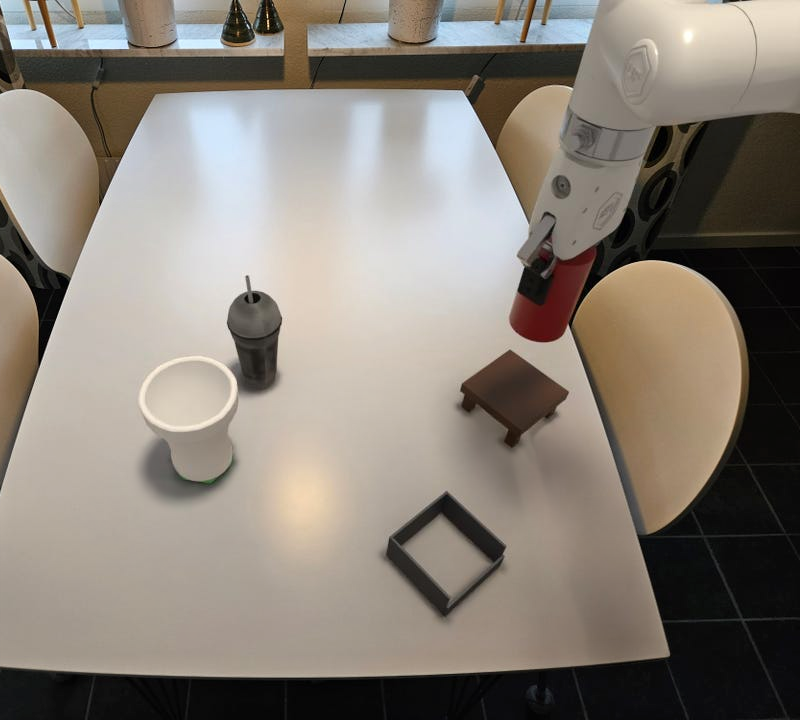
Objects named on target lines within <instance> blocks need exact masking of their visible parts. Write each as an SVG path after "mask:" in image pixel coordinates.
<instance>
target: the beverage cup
mask: <svg viewBox="0 0 800 720" xmlns="http://www.w3.org/2000/svg"><path fill="white" fill-rule="evenodd" d="M244 278H245V283H246V290H247V291H245V292H242V293H240V294H239V295H238V296H236V297H235V298H234V299H233V301H232V303H231V304H230V305H229V308H228V313H227V319H226V325H227V330H229V332H230V335H231V338H232V340H233V342H234V346H235V348H236V349H235V350H236V354H237V358H238V361H239V366H240V369H241V373H242V376H243V379H244V382H245V384H246V385H247V386H248V387H249V388H251V389H254V390H265V389H268V388H270V387H271V386H272V385H274V383H275V381H276V375H277V368H278V350H279V349H278V348H279V335H280V332H281V328H282V327H281V326H282V324H283V317H282V313H281V310H280V308H279V306H278V303H277V302H276V300H275V299H273V298H272V297H271V295H269V294H267V293H266V292H264V291H260V290H252V286H251V285H252V284H251V278H250V275H248V274H246V275H245V276H244Z"/></svg>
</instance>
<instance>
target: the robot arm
mask: <svg viewBox="0 0 800 720" xmlns="http://www.w3.org/2000/svg"><path fill="white" fill-rule="evenodd" d="M564 113H565V114H564V116H563V120H562V123H561V128H560V130H559V134H558V138H557V141H558V144H559V147H558V148H557V150H556V153H555V154H554V157H553V159H552V161H551V163H550V166H549V168H548V170H547V173H546V175H545V178H544V180H543V183H542V186H541V188H540V191H539V194H538V197H537V199H536V203H535V205H534V208H533V211H532V214H531V218H530V221H529V226H528V231H527V237H528V238H527V240H525V242H524V243H523V244H522V246H521V247H520V249H519V250H518V252H517V253H516V257H517V259H518V260H520V263H521V264H522V266H523V270H522V273H521V277H520V280H519V282H518V286H517V290H518V292H519V293H520V294H521V295H523V296H524V297H526V298H527V299H529V300H530V301H532V302H533V303H535V304H536V305H538V306H541V305H543V304H544V303H545V301H546V298H547V295H548V293H549V290H550V287H551V284H552V281H553V279H554V276H553V275H552V274H551V273H552V271H553V270H554V268H555V266H556V264H557V263H558V261H559V259H561V260H568V259H571V258H573V257H575V256H577V255H579V254H580V253H582V252H583V251H585V250H586V249H588V248H589V247H591V246H592V245H594V246H595V248H596V249H597V246H598V245H599V244H600V243H601V241H602V240H603V239H604V238H606V237H607V236H609V235H610V234H611V233H613V232H614V231H615V230H616V229H617V228H618V227H619V226H620V224H621V223H622V222H623V221H622V220H623V218H624V216H625V214H626V211H627V208H628V205H629V203H630V200H631V198H632V196H633V195H632V194H633V192H634V189H635V185H636V183H637V180H638V178H639V174H640V171H641V167H642V164H643V160H644V157H645V155H646V152H647V150H648V147H649V146H650V143H651V140H652V138H653V135H654V134H655V131H656V128H657V126H658V127H659V126H661V127H667V126H676V125H677V126H678V125H685V124H690V123H699V122H706V121H713V120H720V119H728V118H735V117H742V116H743V117H744V116H751V115H761V114H762V115H763V114H770V113H771V114H772V113H788V114H800V0H740V1H729V2H722V3H708V0H599V1H598V4H597V7H596V11H595V14H594V17H593V20H592V24H591V27H590V31H589V33H588V37H587V40H586V43H585V47H584V50H583V54H582V57H581V60H580V63H579V67H578V71H577V73H576V76H575V81H574V83H573V86H572V90H571V93H570V97H569V101H568V104H567V107H566V110H565V112H564ZM550 237H552V243H550V242H549V241H547V240H548V239H549V238H550ZM541 248H543V249H545V250H547V251H548V252H550V253H552V254H551V256H550V258H549V260H548V261H547V263H546V264H545V263H544V262H543V261H542V260H541V259H539V257H538V254H539V252H540V250H541ZM517 290H516V291H517Z"/></svg>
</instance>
